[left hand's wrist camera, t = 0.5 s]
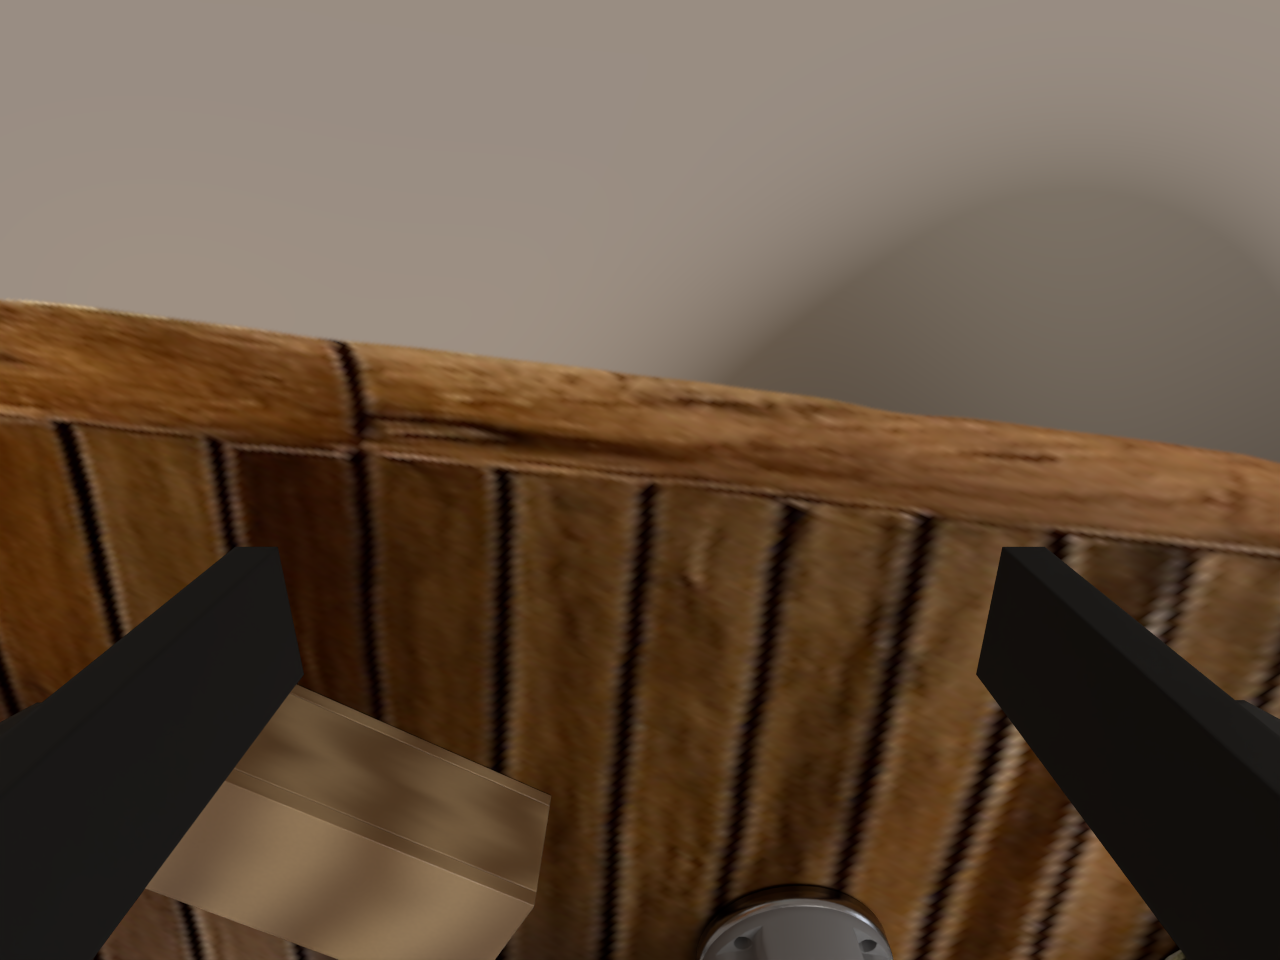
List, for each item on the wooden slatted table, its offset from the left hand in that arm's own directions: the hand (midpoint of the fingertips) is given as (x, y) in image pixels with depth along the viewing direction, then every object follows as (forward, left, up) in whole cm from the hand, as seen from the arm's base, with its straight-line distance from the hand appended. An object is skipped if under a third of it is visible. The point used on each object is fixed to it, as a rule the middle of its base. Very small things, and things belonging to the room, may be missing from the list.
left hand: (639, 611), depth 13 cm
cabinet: (-32, +18, -27) cm, 45 cm away
